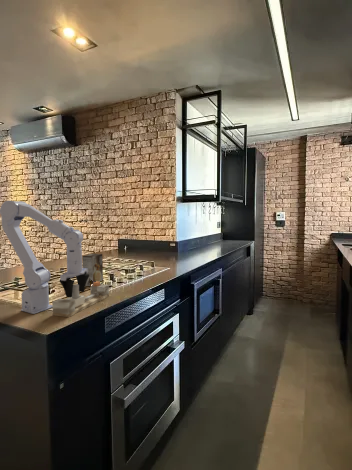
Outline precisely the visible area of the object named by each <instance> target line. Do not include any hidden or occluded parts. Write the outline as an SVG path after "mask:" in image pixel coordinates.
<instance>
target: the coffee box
mask: <svg viewBox="0 0 352 470" xmlns="http://www.w3.org/2000/svg"><path fill="white" fill-rule="evenodd" d="M103 259H104V258H103V253H88V254H85V255H82V268H88V273H86V274H89V278H88V280H87V282H86V285H85V287H86V286H90V281H91V280H92V281H98V282H100V281H102V280H103V281H104V268H103V267H104V265H103V263H104V261H103Z"/></svg>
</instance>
